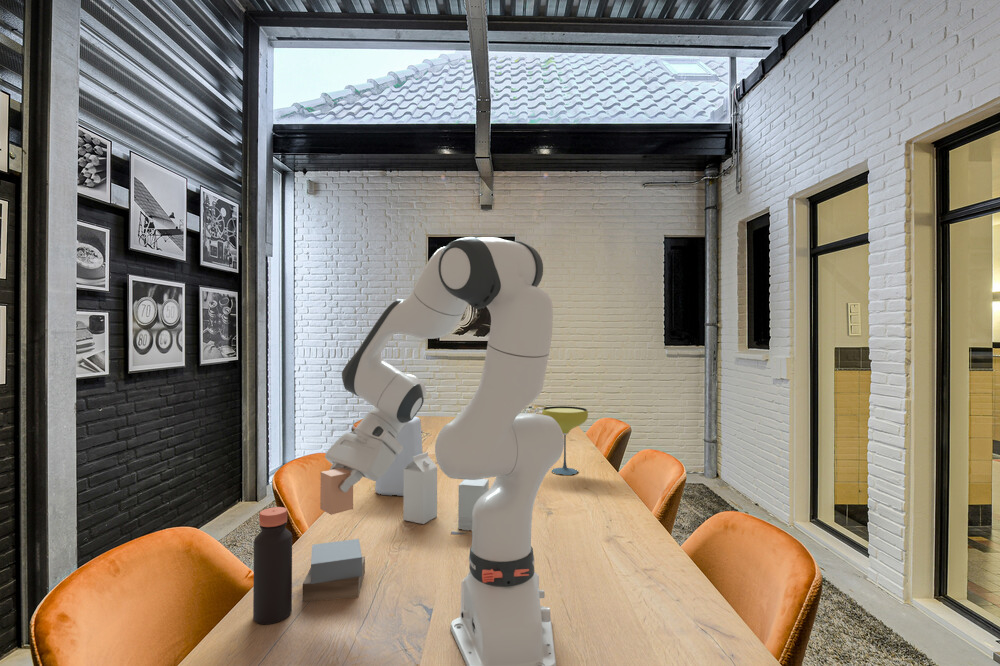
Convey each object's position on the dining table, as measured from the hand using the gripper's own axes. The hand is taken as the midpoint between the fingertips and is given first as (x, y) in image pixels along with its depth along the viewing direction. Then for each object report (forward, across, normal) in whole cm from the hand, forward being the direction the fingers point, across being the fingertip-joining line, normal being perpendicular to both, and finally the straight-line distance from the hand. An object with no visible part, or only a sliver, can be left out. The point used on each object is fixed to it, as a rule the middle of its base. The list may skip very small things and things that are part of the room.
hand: (334, 486), depth 106 cm
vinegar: (+25, +2, +6) cm, 25 cm away
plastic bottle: (-19, -47, +49) cm, 71 cm away
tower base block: (+15, 0, +16) cm, 22 cm away
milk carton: (-11, -19, +41) cm, 47 cm away
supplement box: (-16, -4, +46) cm, 49 cm away
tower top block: (+12, 0, +13) cm, 18 cm away
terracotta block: (+3, 0, +4) cm, 5 cm away
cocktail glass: (-61, -21, +92) cm, 112 cm away
